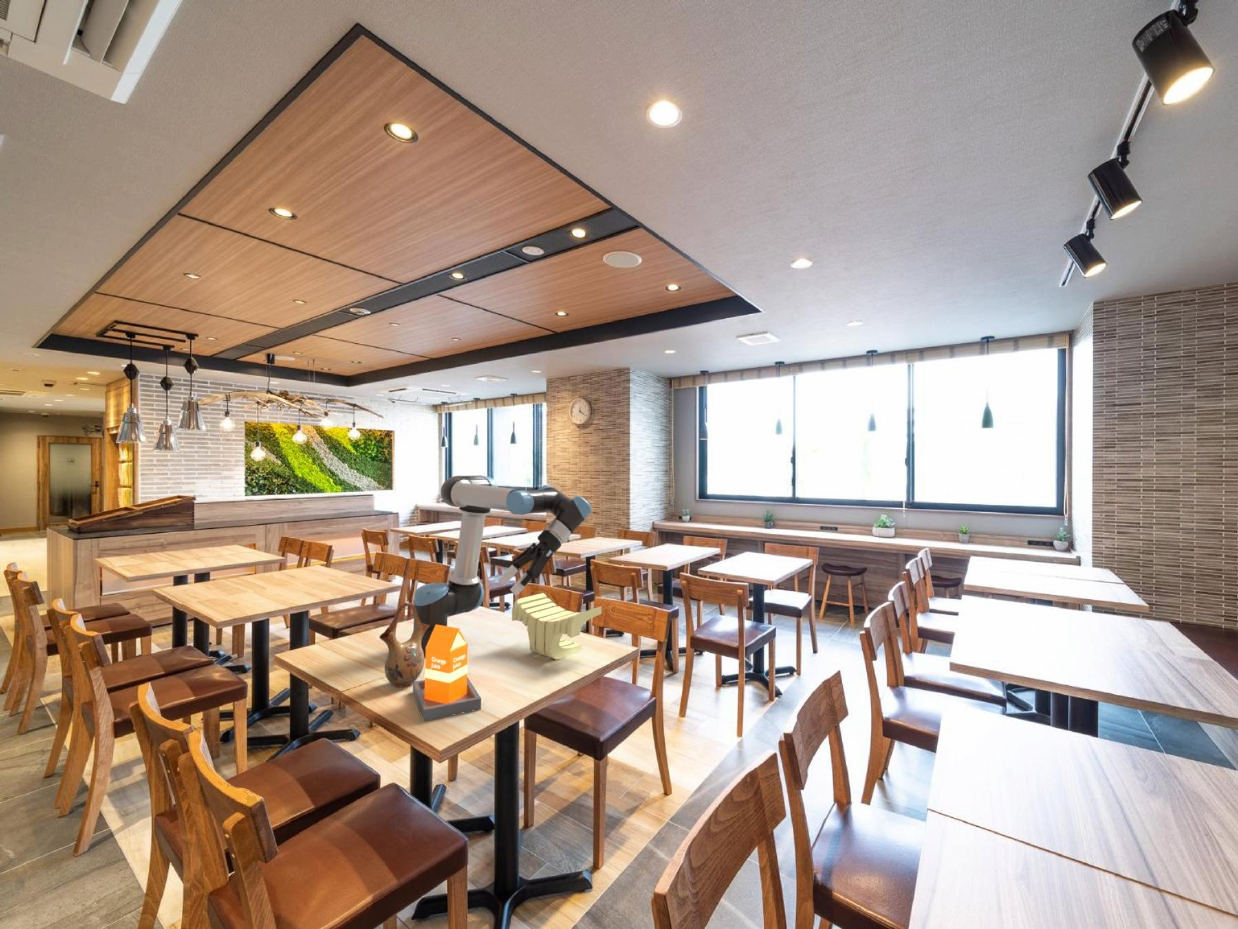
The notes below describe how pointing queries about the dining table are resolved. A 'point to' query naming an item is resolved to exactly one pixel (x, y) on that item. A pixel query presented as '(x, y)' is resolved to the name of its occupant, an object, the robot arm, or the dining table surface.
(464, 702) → the tray
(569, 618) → the slatted curved stool
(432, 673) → the orange juice
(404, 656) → the ceramic vessel
